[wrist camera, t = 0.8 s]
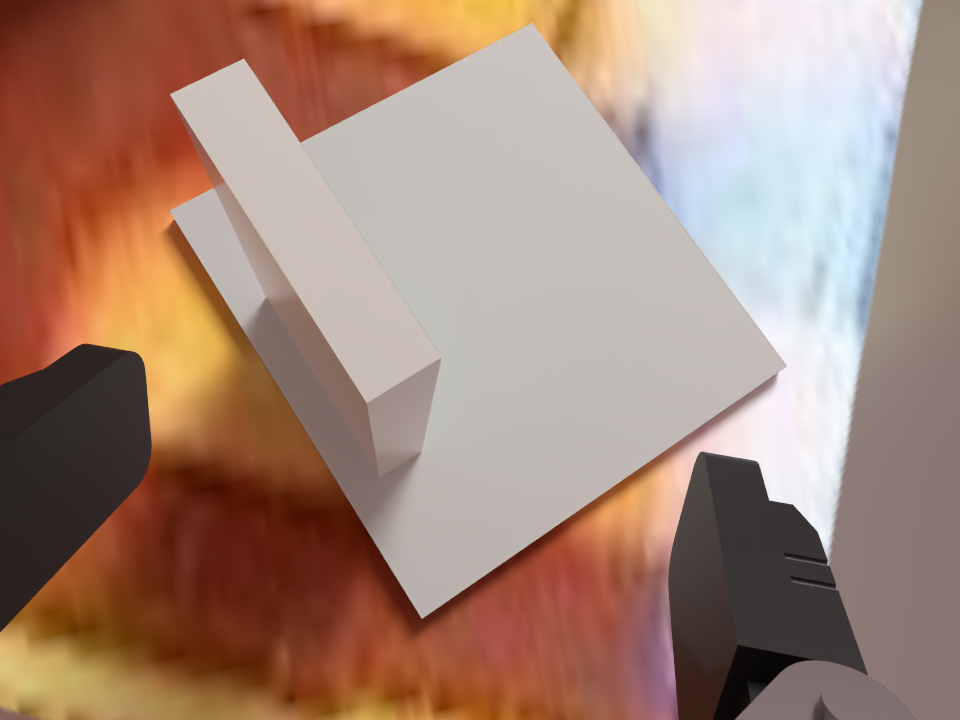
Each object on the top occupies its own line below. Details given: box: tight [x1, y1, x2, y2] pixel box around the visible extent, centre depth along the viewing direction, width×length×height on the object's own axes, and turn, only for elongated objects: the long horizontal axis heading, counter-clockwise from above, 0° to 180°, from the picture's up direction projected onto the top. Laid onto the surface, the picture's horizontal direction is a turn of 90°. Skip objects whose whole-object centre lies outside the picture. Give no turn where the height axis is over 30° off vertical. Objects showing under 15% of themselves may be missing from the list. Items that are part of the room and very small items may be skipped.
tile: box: [170, 59, 442, 478], centre depth 26 cm, size 9×2×15 cm, turn 34°
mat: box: [170, 23, 787, 619], centre depth 35 cm, size 20×19×1 cm
